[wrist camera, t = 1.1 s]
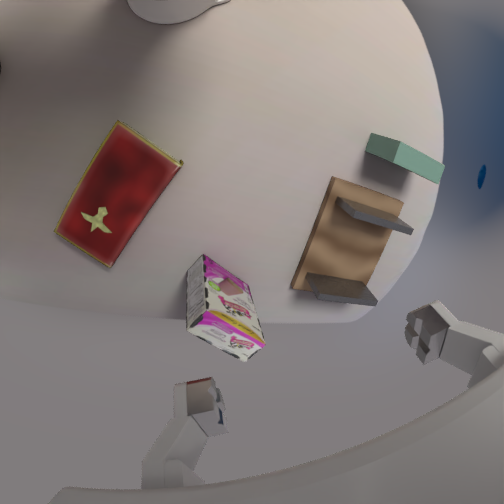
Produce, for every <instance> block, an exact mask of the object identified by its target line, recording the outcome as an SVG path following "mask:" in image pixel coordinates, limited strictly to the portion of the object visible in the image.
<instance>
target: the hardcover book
mask: <svg viewBox="0 0 504 504" xmlns="http://www.w3.org/2000/svg"><path fill="white" fill-rule="evenodd" d="M182 165H183V161H182V160H180V162H179V161H178V160H176V159H175V158H173V157H172V156H171V155H169V154H168V153H166V152H165V151H164V150H162V149H161V148H159V147H158V146H157V145H155V144H154V143H152V142H151V141H150V140H148V139H147V138H145V137H144V136H142V135H141V134H140V133H138V132H137V131H135V130H134V129H132V128H131V127H130V126H128V125H127V124H125V123H124V122H122V123H121V122H120V121H119V120H117V122H116V123H115V125H114V126H113V128H112V129H111V131H110V132H109V134H108V135H107V137H106V138H105V140H104V141H103V143H102V144H101V146H100V148H99V149H98V151H97V152H96V154H95V156H94V157H93V159H92V161H91V162H90V164H89V166H88V167H87V169H86V171H85V172H84V174H83V176H82V178H81V179H80V181H79V183H78V185H77V187H76V189H75V190H74V192H73V194H72V196H71V198H70V200H69V202H68V204H67V206H66V208H65V210H64V212H63V214H62V216H61V218H60V220H59V222H58V224H57V226H56V228H55V230H54V232H55V233H57V234H58V235H59V236H61V237H62V238H64V239H65V240H67V241H68V242H70V243H71V244H73V245H74V246H76V247H77V248H79V249H80V250H82V251H83V252H85V253H87V254H88V255H90V256H91V257H93V258H94V259H96V260H98V261H99V262H101V263H102V264H104V265H105V266H107V267H109V268H111V267H112V266H113V264H114V263H115V261H116V259H117V258H118V256H119V255H120V253H121V252H122V250H123V248H124V247H125V245H126V244H127V242H128V241H129V239H130V238H131V236H132V235H133V233H134V232H135V230H136V229H137V227H138V226H139V224H140V223H141V221H142V220H143V219H144V217H145V216H146V214H147V213H148V211H149V210H150V209H151V207H152V206H153V204H154V203H155V202H156V200H157V199H158V197H159V196H160V195H161V193H162V192H163V190H164V189H165V188H166V186H167V185H168V184H169V182H170V181H171V180H172V178H173V177H174V176H175V174H176V173H177V172H178V170H179V169H180V168H181V167H182Z"/></svg>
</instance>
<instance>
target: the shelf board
mask: <svg viewBox="0 0 504 504" xmlns="http://www.w3.org/2000/svg"><path fill="white" fill-rule="evenodd" d="M337 196H339V197H342V198H345V199H349V200H352V201H355V202H358V203H361V204H364V205H367V206H370V207H373V208H376V209H379V210H382V211H385V212H388V213H391V214H394V215H395V216H396V217H398V216H399V214H400V211H401V209H402V206H403V204H404V203H403V202H402V201H400V200H397V199H395V198H392V197H390V196H387V195H384V194H382V193H379V192H376V191H373V190H371V189H368V188H365V187H362V186H359V185H357V184H354V183H351V182H348V181H345V180H342V179H339V178H336V177H333V176H332V178H331V181H330V184H329V186H328V189H327V192H326V195H325V197H324V200H323V203H322V205H321V208H320V211H319V213H318V216H317V219H316V221H315V224H314V227H313V229H312V232H311V234H310V237H309V240H308V242H307V245H306V247H305V250H304V252H303V255H302V258H301V260H300V263H299V265H298V268H297V270H296V273H295V275H294V277H293V280H292V282H291V286H292V288H293V289H298V290H305V291H312V289H311V287H310V285H309V283H308V282H307V280H306V278H305V276H306V274H307V272H310V273H316V274H321V275H327V276H333V277H339V278H345V279H351V280H357V281H362V282H363V283H364V284H365V285H367V283H368V281H369V279H370V277H371V275H372V273H373V271H374V269H375V267H376V265H377V263H378V261H379V258H380V256H381V254H382V252H383V250H384V248H385V246H386V243H387V241H388V239H389V237H390V234H391V232H392V230H393V229H389V228H386V227H383V226H380V225H376V224H373V223H370V222H366V221H363V220H359V219H356V218H353V217H352V216H351V215H349V214H348V213H347V212H346V211H345V210H343V209H342V208H341V207H340V206H339V205H338V204H336V203H335V201H336V199H337ZM312 292H313V291H312Z"/></svg>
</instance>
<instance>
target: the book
mask: <svg viewBox="0 0 504 504" xmlns="http://www.w3.org/2000/svg"><path fill="white" fill-rule="evenodd" d="M365 151H366V152H369V153H371V154H373V155H376V156H378V157H380V158H383V159H385V160H387V161H390V162H392V163H394V164H396V165H398V166H401V167H403V168H405V169H407V170H409V171H411V172H413V173H415V174H417V175H419V176H421V177H424V178H426V179H428V180H430V181H432V182H434V183H436V184H439V181H440V178H441V176H442V173H443V170H444V167H445V166H444V165H443V164H441V163H439V162H437V161H436V160H434V159H432V158H430V157H429V156H427V155H425V154H423V153H421V152H420V151H418V150H416V149H414V148H412V147H410V146H408V145H406V144H404V143H402V142H400V141H397V140H394V139H391V138H387V137H384V136H381V135H377V134H374V133H371V135H370V138H369V141H368V144H367V147H366V150H365Z"/></svg>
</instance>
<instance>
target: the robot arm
mask: <svg viewBox="0 0 504 504" xmlns="http://www.w3.org/2000/svg"><path fill="white" fill-rule="evenodd" d="M127 1H128V4H129V6H130V8H131V9H132V10H133V12H134V13H135V14H137V15H138V16H139V17H141V18H142V19H144V20H147V21H150V22H153V23H159V24H173V23H179V22H183V21H187V20H190V19H192V18H194V17H196V16H198V15H200V14H201V13H203V12H204V11H206V10H207V9H208V8H210V7H212V6H214V5H217V4H221V3H225V2H228V1H230V0H127ZM406 320H407V321H408V322H409V323H408V324H407V326H406V327H405V337H406V340H407V342H408V344H409V345H410V347H411V348H414V349H416V355H417V356H418V358H419V359H420V361H421V362H422V363H423V364H424V365H425V364H427V363H429V362H431V361H433V360H435V359H437V358H439V357H440V359H441V360H443V361H446V362H447V363H449V364H451V365H453V366H455V367H457V368H459V369H461V370H463V371H465V372H467V373H469V374H471V375H472V376H471V378H470V380H469V382H468V385H467V387H468V388H469V389H468V390H466V391H464V392H463V393H461V394H459V395H458V396H456V397H455V398H453V399H451V400H450V401H448V402H446V403H444V404H443V405H441V406H439V407H438V408H436V409H434V410H432V411H430V412H428V413H426V414H425V415H423V416H421V417H419V418H417V419H415V420H413V421H411V422H409V423H407V424H405V425H403V426H401V427H399V428H396V429H394V430H392V431H390V432H388V433H385V434H383V435H381V436H379V437H376V438H374V439H372V440H369V441H367V442H364V443H362V444H360V445H357V446H354V447H351V448H349V449H346V450H343V451H341V452H338V453H335V454H332V455H329V456H326V457H323V458H320V459H317V460H314V461H310V462H307V463H304V464H300V465H297V466H293V467H290V468H286V469H282V470H278V471H274V472H270V473H265V474H261V475H256V476H252V477H247V478H242V479H237V480H231V481H225V482H219V483H212V484H205V481H204V480H203V479H201V478H200V477H199V476H198V475H197V474H195V473H194V472H193V470H194V468H195V466H196V464H197V462H198V460H199V457H200V455H201V453H202V451H203V449H204V447H205V445H206V442H207V440H208V437H211V436H216V435H220V434H224V433H228V426H227V419H226V417H225V415H224V414H223V413H224V411H225V405H224V401H223V397H222V395H221V392H220V390H219V389H218V388H216V384H215V381H214V379H213V378H212V377H210V378H205V379H200V380H195V381H189V382H184V383H179V384H175V386H174V418H173V419H170V420H169V422H168V423H167V425H166V426H165V428H164V429H163V431H162V432H161V434H160V435H159V437H158V438H157V440H156V441H155V443H154V444H153V446H152V447H151V449H150V450H149V452H148V453H147V455H146V456H145V458H144V459H143V461H142V483H141V484H142V485H141V489H131V490H130V489H129V490H128V489H124V490H122V489H121V490H120V489H93V488H80V487H64V488H62V490H60V491H59V492H58V493H57V494H56V495H55V496H54V497H53V498H52V499H51V501H50V502H49V503H48V504H504V334H501V333H498V332H495V331H492V330H489V329H486V328H483V327H479V326H476V325H473V324H470V323H467V322H464V321H460V322H459V321H458V320H457V319H456V318H455V317H454V316H453V314H451V312H450V311H449V310H448V309H447V308H446V307H445V306H444V305H443V304H442V303H441V302H440V301H438V300H436V301H434V302H432V303H430V304H427V305H425V306H422V307H420V308H418V309H416V310H414V311H411V312H410V313H408V315H407V319H406Z"/></svg>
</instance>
